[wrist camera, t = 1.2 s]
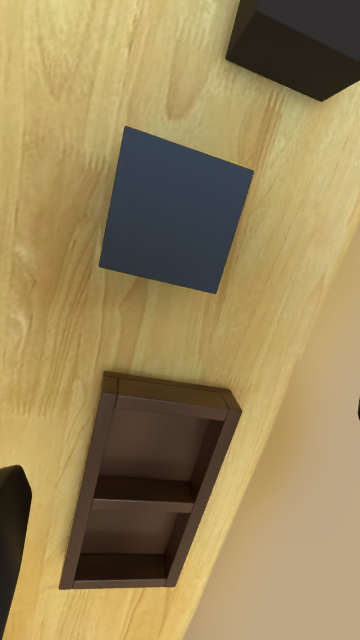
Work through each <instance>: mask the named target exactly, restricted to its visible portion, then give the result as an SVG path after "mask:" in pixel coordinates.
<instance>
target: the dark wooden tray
mask: <svg viewBox="0 0 360 640" xmlns="http://www.w3.org/2000/svg"><path fill="white" fill-rule="evenodd" d="M241 414H242V409H241V408H240V406H239V404H238V403H237V401H236V399H235V397H234V396H233V395H232V392H231V391H230V390H227V389H220V388H213V387H207V386H200V385H193V384H187V383H180V382H173V381H166V380H160V379H153V378H146V377H140V376H133V375H126V374H120V373H113V372H106V371H104V373H103V377H102V382H101V387H100V391H99V396H98V401H97V406H96V410H95V415H94V420H93V424H92V429H91V434H90V438H89V443H88V448H87V452H86V457H85V462H84V467H83V471H82V476H81V481H80V485H79V490H78V495H77V499H76V504H75V509H74V513H73V518H72V523H71V527H70V532H69V537H68V542H67V546H66V551H65V556H64V562H63V567H62V573H61V578H60V584H59V590H66V589H104V588H143V587H175V586H176V583H177V581H178V578H179V576H180V573H181V570H182V568H183V565H184V563H185V560H186V557H187V555H188V552H189V549H190V547H191V544H192V542H193V539H194V536H195V534H196V531H197V529H198V526H199V523H200V521H201V518H202V516H203V513H204V510H205V508H206V505H207V502H208V500H209V497H210V495H211V492H212V489H213V487H214V484H215V482H216V479H217V476H218V474H219V471H220V468H221V466H222V463H223V461H224V458H225V455H226V453H227V450H228V448H229V445H230V442H231V440H232V437H233V435H234V432H235V429H236V427H237V424H238V421H239V419H240V416H241Z"/></svg>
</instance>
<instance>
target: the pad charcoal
mask: <svg viewBox="0 0 360 640" xmlns="http://www.w3.org/2000/svg"><path fill="white" fill-rule="evenodd" d="M226 59H227V60H229V61H231V62H233V63H236V64H238V65H240V66H242V67H245V68H247V69H249V70H251V71H254V72H256V73H258V74H260V75H263V76H265V77H267V78H269V79H272V80H274V81H276V82H278V83H281V84H283V85H285V86H287V87H290V88H292V89H294V90H296V91H299V92H301V93H303V94H306V95H308V96H310V97H312V98H315V99H317V100H319V101H321V102H322V101H324V100H326V99H328V98H329V97H331V96H333V95H335V94H336V93H338V92H340V91H342V90H343V89H345V88H347V87H349V86H350V85H352V84H354V83H356V82H357V81H359V80H360V0H240V4H239V7H238V11H237V15H236V19H235V23H234V27H233V31H232V35H231V38H230V42H229V46H228V50H227V54H226Z"/></svg>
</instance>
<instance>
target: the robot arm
mask: <svg viewBox="0 0 360 640" xmlns="http://www.w3.org/2000/svg"><path fill="white" fill-rule="evenodd" d="M358 417H359V420H360V399H359V408H358ZM31 500H32V491H31V487H30V485H29V482H28V480H27V478H26V475H25V473H24V470H23V468H22V467H21V466H20V465H13V466H9V467H4V468H1V469H0V640H2V637H3V634H4V630H5V626H6V622H7V618H8V615H9V611H10V607H11V603H12V599H13V595H14V592H15V588H16V584H17V580H18V576H19V571H20V566H21V561H22V555H23V549H24V543H25V537H26V531H27V524H28V518H29V512H30V506H31Z"/></svg>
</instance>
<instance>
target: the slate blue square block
mask: <svg viewBox="0 0 360 640" xmlns="http://www.w3.org/2000/svg"><path fill="white" fill-rule="evenodd" d="M253 174H254V171H253V170H250V169H247V168H244V167H242V166H239V165H236V164H233V163H230V162H227V161H224V160H222V159H219V158H216V157H213V156H210V155H207V154H205V153H202V152H199V151H196V150H193V149H190V148H188V147H185V146H182V145H179V144H176V143H173V142H171V141H168V140H165V139H162V138H159V137H156V136H154V135H151V134H148V133H145V132H142V131H139V130H137V129H134V128H131V127H128V126H125V127H124V132H123V138H122V143H121V148H120V154H119V159H118V164H117V170H116V175H115V181H114V186H113V191H112V197H111V202H110V207H109V213H108V218H107V224H106V229H105V234H104V240H103V245H102V251H101V256H100V261H99V267H101V268H105V269H109V270H114V271H118V272H122V273H126V274H131V275H135V276H139V277H144V278H148V279H152V280H157V281H161V282H165V283H170V284H174V285H178V286H183V287H187V288H191V289H195V290H200V291H204V292H208V293H213V294H216V293H217V290H218V286H219V283H220V280H221V277H222V274H223V270H224V267H225V264H226V261H227V258H228V254H229V251H230V248H231V245H232V241H233V238H234V235H235V232H236V229H237V225H238V222H239V219H240V216H241V212H242V209H243V206H244V203H245V200H246V196H247V193H248V190H249V187H250V183H251V180H252V177H253Z"/></svg>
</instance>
